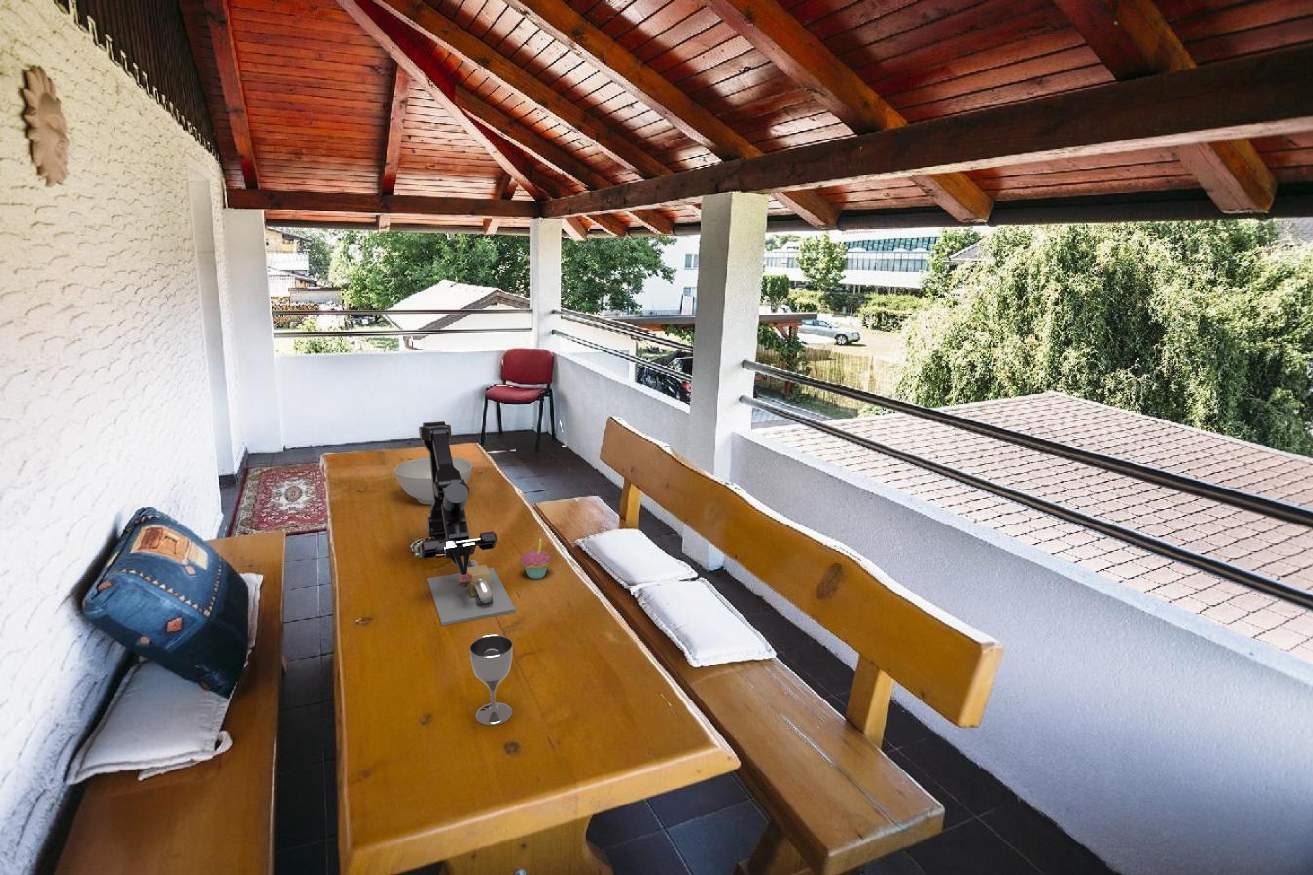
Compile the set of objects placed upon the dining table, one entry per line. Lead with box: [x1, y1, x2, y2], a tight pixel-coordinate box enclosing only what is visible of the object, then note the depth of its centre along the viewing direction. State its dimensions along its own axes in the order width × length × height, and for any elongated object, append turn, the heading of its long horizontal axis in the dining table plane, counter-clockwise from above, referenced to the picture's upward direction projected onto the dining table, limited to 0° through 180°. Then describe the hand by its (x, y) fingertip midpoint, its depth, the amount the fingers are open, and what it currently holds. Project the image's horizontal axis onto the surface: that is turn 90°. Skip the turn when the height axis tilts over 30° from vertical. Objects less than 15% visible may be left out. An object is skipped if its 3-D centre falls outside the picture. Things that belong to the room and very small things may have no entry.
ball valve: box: [467, 559, 493, 606], centre depth 189 cm, size 20×6×6 cm, turn 25°
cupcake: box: [519, 538, 552, 580], centre depth 201 cm, size 9×8×12 cm
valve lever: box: [456, 574, 473, 588], centre depth 183 cm, size 2×3×12 cm
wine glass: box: [469, 634, 513, 726], centre depth 140 cm, size 8×8×15 cm
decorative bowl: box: [393, 456, 474, 506], centre depth 259 cm, size 27×27×12 cm
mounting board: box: [427, 567, 517, 626], centre depth 189 cm, size 26×18×1 cm
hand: (464, 576), depth 181 cm, fingers closed, pressing on valve lever
